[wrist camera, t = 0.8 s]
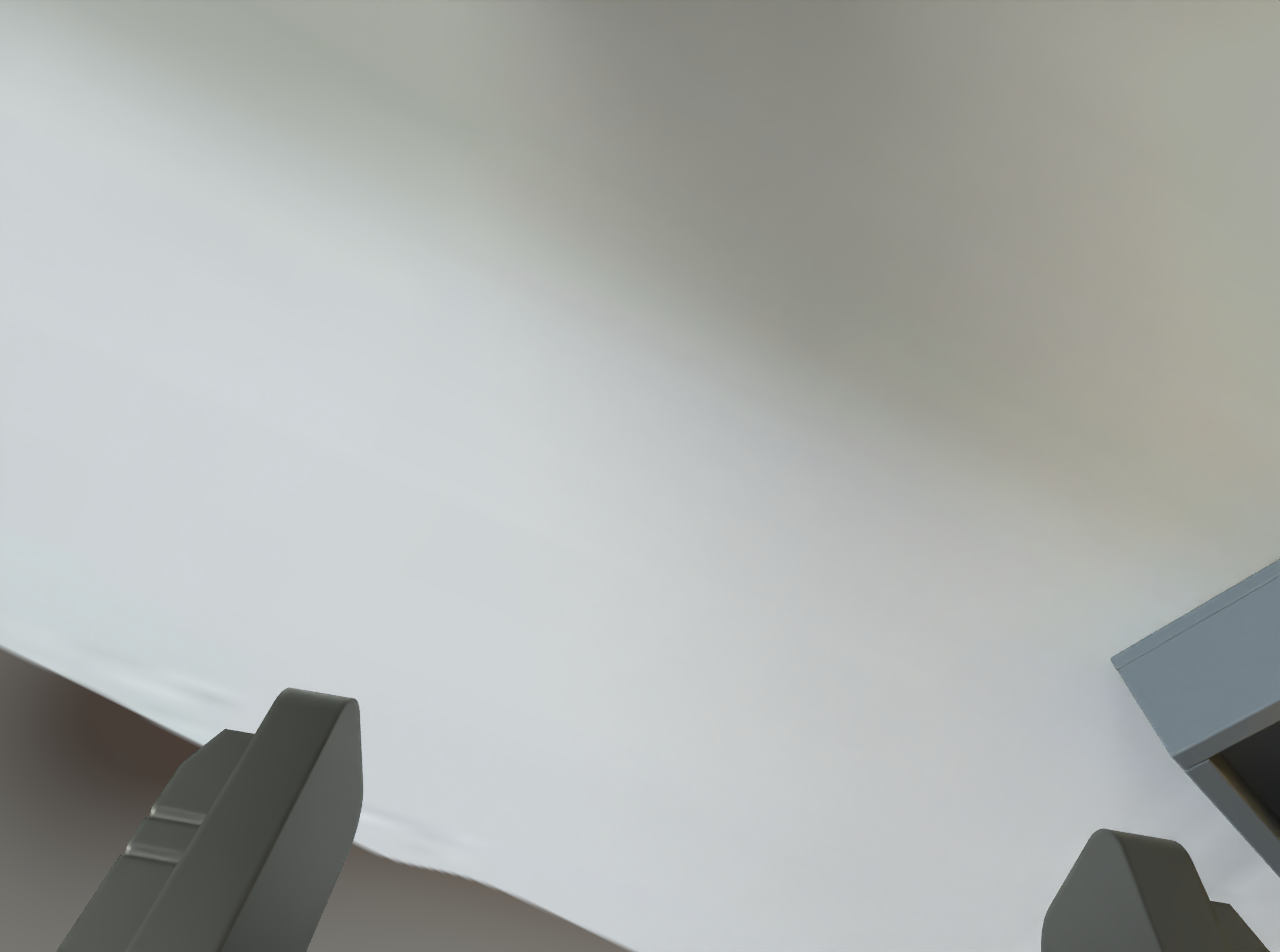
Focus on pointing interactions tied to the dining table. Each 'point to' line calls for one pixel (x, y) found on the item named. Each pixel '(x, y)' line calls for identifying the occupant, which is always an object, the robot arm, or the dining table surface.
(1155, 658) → the tub
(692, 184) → the dining table surface
